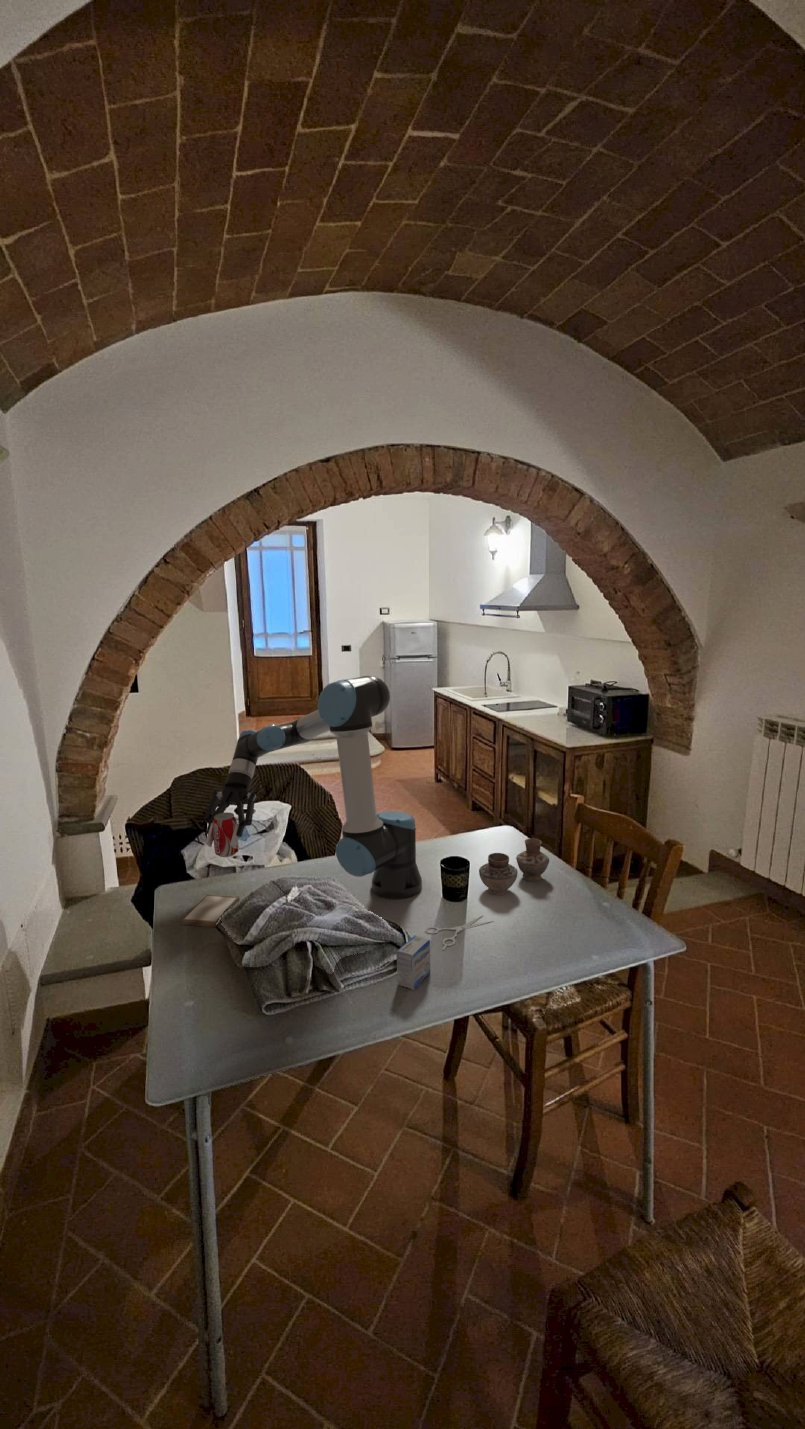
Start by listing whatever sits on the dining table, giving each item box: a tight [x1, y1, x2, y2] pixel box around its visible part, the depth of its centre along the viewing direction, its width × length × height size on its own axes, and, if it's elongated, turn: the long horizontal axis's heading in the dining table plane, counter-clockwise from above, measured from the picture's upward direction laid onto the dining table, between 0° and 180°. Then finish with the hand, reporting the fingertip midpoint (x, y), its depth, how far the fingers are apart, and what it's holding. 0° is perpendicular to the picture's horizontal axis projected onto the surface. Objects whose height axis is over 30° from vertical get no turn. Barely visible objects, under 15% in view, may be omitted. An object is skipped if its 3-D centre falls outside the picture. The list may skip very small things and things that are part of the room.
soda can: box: [212, 811, 239, 858], centre depth 185 cm, size 7×7×12 cm
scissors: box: [424, 915, 494, 952], centre depth 164 cm, size 11×1×20 cm
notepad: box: [180, 894, 240, 928], centre depth 175 cm, size 10×15×1 cm, turn 170°
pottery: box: [478, 838, 550, 896], centre depth 188 cm, size 11×25×12 cm, turn 125°
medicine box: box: [396, 934, 431, 990], centre depth 143 cm, size 8×4×9 cm, turn 148°
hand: (220, 845), depth 182 cm, fingers closed on soda can, 7 cm apart
